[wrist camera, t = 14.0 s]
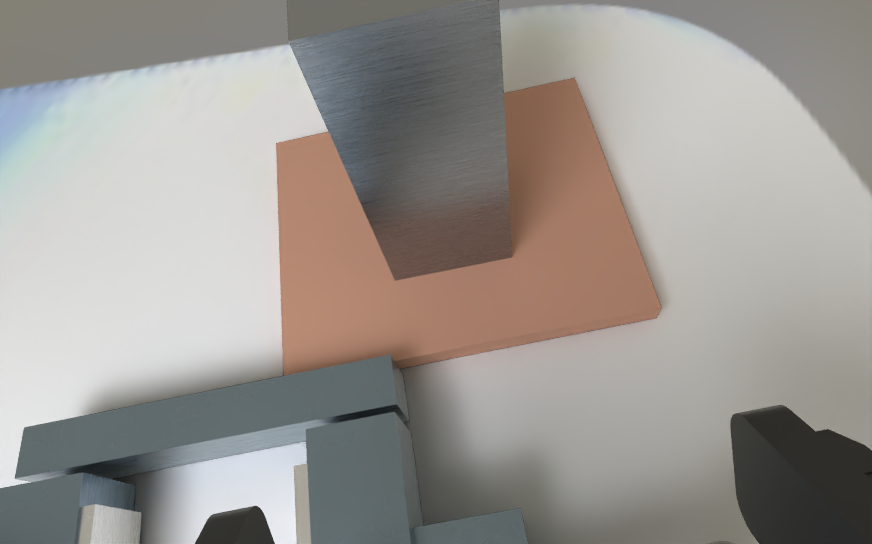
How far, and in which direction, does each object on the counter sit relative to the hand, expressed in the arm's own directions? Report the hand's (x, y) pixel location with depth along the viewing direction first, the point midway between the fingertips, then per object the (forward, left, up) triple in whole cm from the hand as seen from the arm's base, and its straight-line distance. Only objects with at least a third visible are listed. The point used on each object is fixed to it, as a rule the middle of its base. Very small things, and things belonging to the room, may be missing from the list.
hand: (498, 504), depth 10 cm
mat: (0, +10, -7) cm, 13 cm away
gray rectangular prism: (0, +12, -7) cm, 13 cm away
